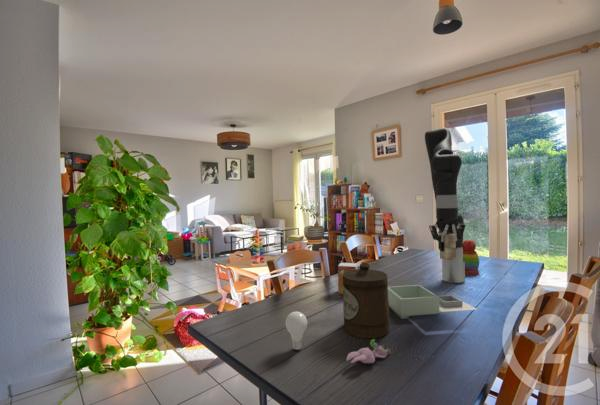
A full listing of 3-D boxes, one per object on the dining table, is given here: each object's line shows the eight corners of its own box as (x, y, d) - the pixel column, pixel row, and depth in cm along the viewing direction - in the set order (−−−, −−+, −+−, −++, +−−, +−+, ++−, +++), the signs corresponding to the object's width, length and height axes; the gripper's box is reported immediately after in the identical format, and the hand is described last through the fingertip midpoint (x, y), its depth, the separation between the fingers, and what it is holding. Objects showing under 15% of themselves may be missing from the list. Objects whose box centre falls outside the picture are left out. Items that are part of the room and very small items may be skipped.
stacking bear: (459, 269, 167) (459, 238, 166) (480, 271, 161) (479, 239, 160) (456, 273, 158) (456, 240, 158) (478, 276, 152) (478, 242, 152)
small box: (338, 294, 131) (337, 265, 131) (340, 289, 137) (340, 262, 137) (356, 295, 129) (355, 266, 128) (358, 291, 135) (357, 263, 134)
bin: (419, 301, 119) (419, 284, 119) (439, 316, 105) (439, 296, 105) (386, 304, 118) (385, 286, 118) (401, 318, 104) (401, 299, 104)
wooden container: (341, 319, 106) (340, 258, 105) (383, 318, 105) (381, 257, 104) (346, 339, 91) (345, 269, 90) (395, 338, 90) (393, 268, 90)
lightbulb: (286, 344, 89) (284, 308, 88) (306, 343, 89) (305, 307, 89) (286, 356, 82) (285, 317, 82) (309, 354, 83) (308, 315, 83)
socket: (454, 298, 122) (454, 291, 122) (477, 312, 108) (477, 304, 108) (422, 300, 121) (421, 293, 120) (441, 314, 107) (441, 306, 106)
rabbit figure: (377, 353, 85) (339, 362, 77) (378, 332, 86) (341, 339, 77) (395, 362, 80) (357, 374, 71) (397, 340, 81) (359, 349, 72)
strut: (449, 257, 116) (449, 232, 116) (455, 259, 112) (455, 233, 112) (440, 258, 115) (439, 232, 115) (446, 260, 111) (445, 234, 111)
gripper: (458, 205, 117) (458, 248, 118) (424, 207, 116) (425, 250, 117) (470, 206, 110) (471, 251, 110) (434, 207, 109) (435, 253, 109)
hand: (447, 250), depth 114 cm, fingers closed on strut, 4 cm apart
